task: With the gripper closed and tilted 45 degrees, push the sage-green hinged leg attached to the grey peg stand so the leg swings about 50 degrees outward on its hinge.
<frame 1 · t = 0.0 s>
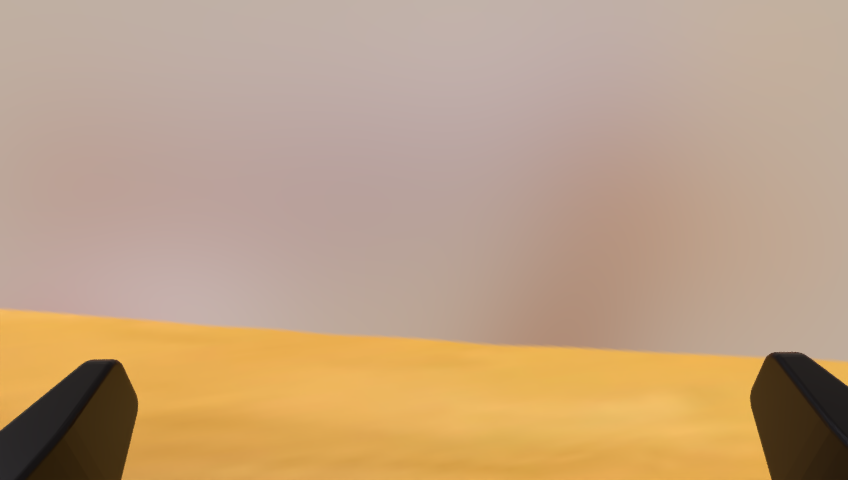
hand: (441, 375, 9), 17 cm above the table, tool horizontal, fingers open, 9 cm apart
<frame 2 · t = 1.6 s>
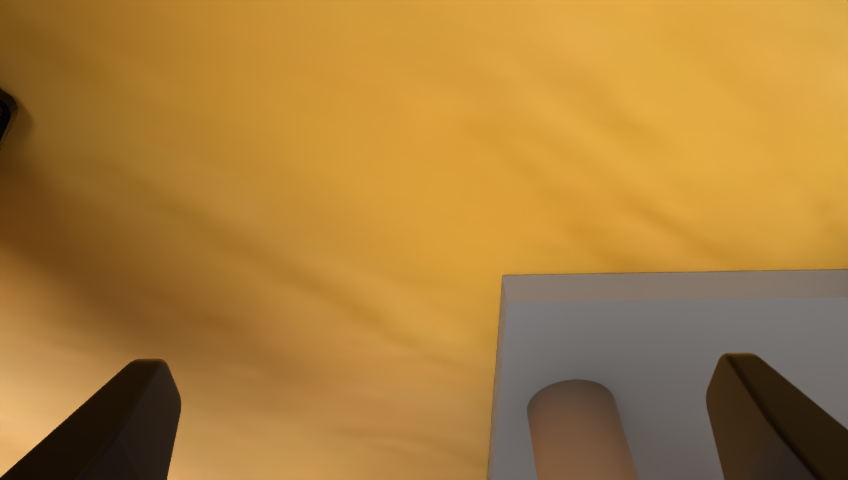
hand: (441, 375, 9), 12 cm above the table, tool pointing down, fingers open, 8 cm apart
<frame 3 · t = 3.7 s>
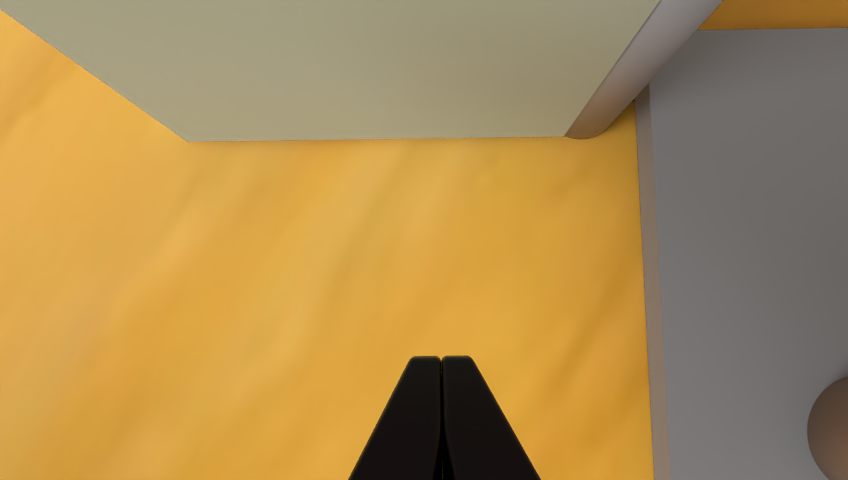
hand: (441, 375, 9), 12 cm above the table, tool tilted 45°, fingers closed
hinged leg: (392, 43, 17), point 5 cm above the table, hinge at 0.0°
grey peg stand: (577, 105, 22), on the table
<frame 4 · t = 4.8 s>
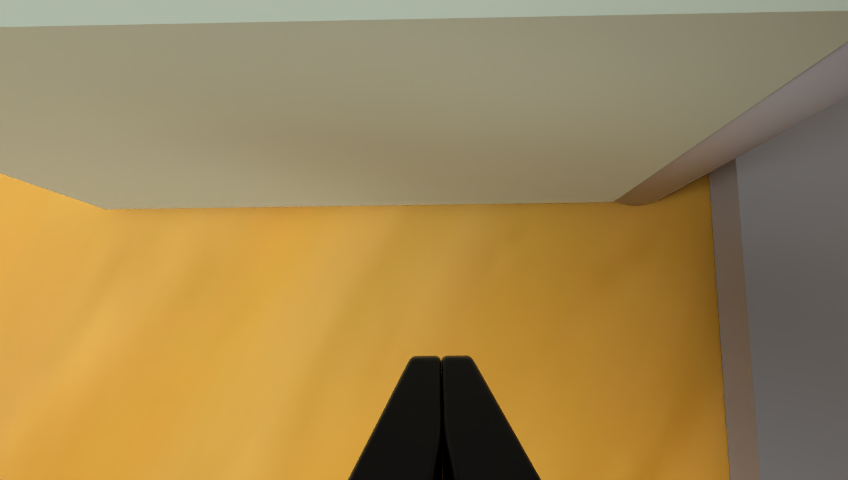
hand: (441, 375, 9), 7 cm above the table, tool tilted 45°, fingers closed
hinged leg: (375, 88, 11), point 5 cm above the table, hinge at 0.0°
grey peg stand: (630, 158, 17), on the table
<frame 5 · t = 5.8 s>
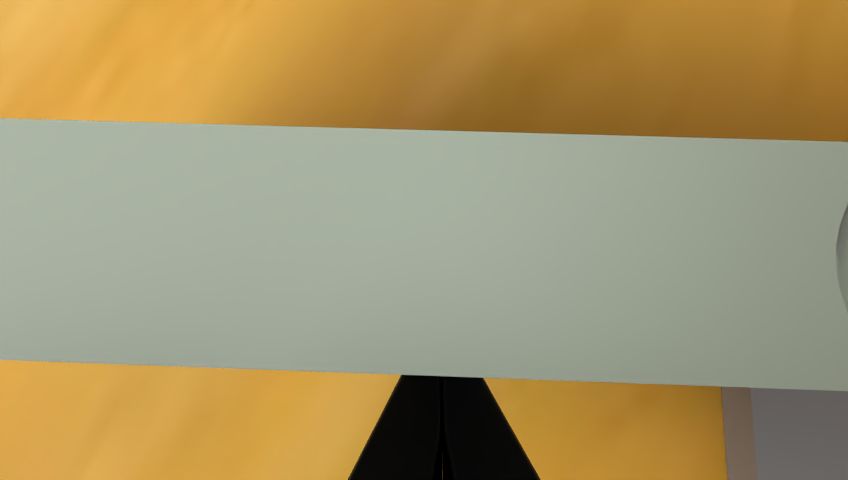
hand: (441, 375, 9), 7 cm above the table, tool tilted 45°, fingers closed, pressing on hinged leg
hinged leg: (378, 280, 11), point 5 cm above the table, hinge at -2.6°, touching gripper
grey peg stand: (636, 302, 16), on the table
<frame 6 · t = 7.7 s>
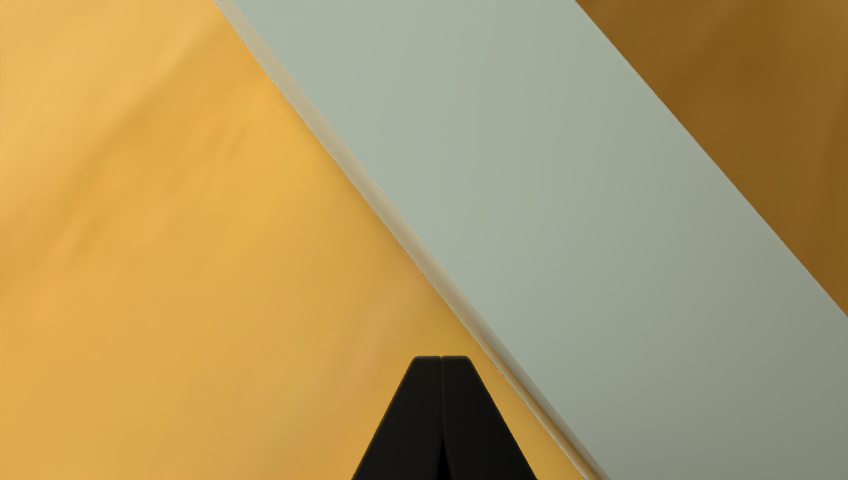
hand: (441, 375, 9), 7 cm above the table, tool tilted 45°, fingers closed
hinged leg: (518, 267, 10), point 5 cm above the table, hinge at -52.5°, touching gripper
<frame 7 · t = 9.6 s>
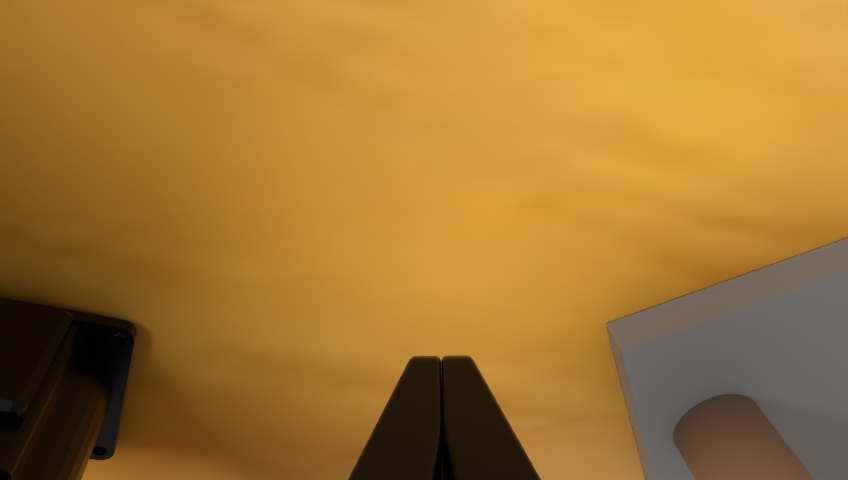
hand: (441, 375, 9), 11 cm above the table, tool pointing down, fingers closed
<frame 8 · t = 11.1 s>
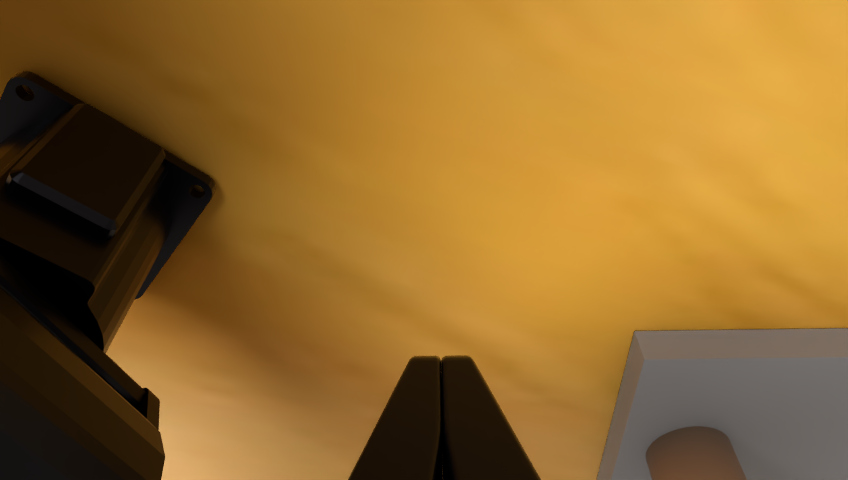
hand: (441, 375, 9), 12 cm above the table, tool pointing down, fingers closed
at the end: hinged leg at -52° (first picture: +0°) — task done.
